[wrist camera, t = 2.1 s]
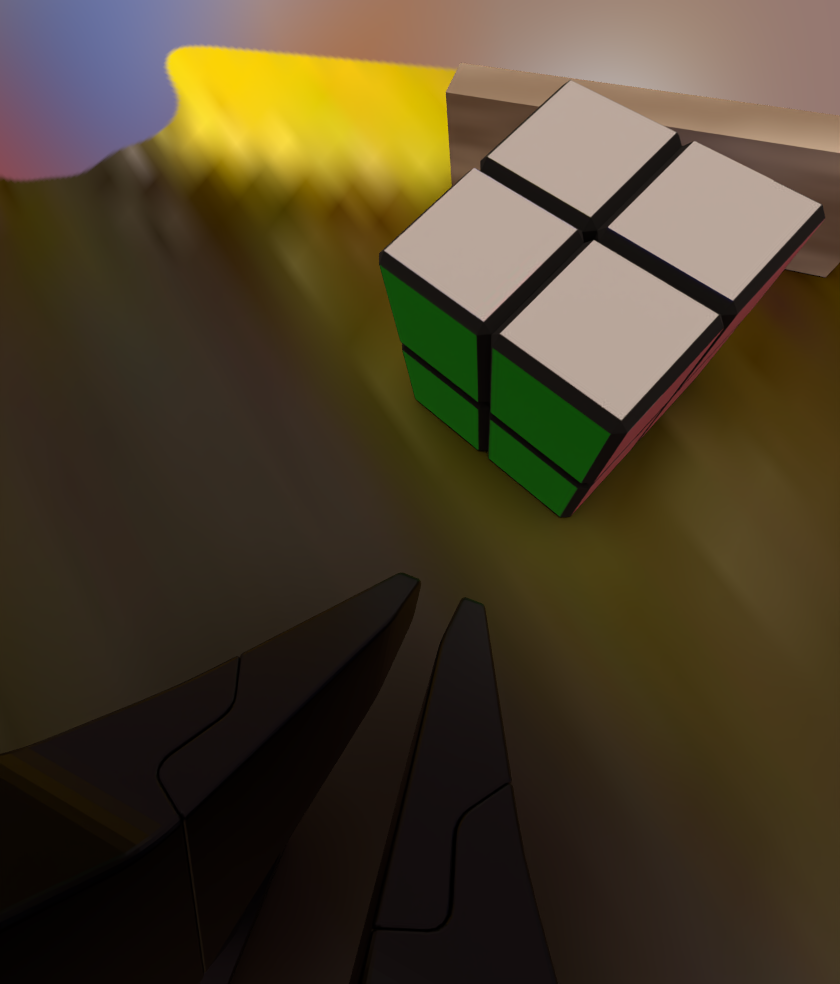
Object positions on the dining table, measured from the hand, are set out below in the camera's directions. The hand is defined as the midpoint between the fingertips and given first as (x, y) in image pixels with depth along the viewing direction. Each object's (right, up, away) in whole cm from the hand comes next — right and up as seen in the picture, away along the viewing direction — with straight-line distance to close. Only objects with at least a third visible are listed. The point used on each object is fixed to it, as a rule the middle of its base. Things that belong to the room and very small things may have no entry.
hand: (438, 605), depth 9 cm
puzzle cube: (+6, +7, +16) cm, 19 cm away
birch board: (+11, +17, +18) cm, 27 cm away
